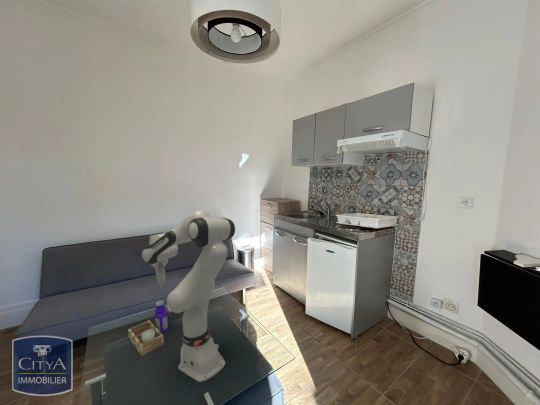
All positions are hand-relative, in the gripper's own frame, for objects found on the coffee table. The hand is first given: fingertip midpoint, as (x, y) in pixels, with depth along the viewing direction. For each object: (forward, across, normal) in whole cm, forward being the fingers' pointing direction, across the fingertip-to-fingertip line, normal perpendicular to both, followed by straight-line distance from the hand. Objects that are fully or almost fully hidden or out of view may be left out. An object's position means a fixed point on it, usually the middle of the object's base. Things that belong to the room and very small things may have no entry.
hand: (160, 284), depth 132 cm
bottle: (+28, 0, +1) cm, 28 cm away
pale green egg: (+27, -11, +8) cm, 30 cm away
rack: (+28, -7, +10) cm, 30 cm away
